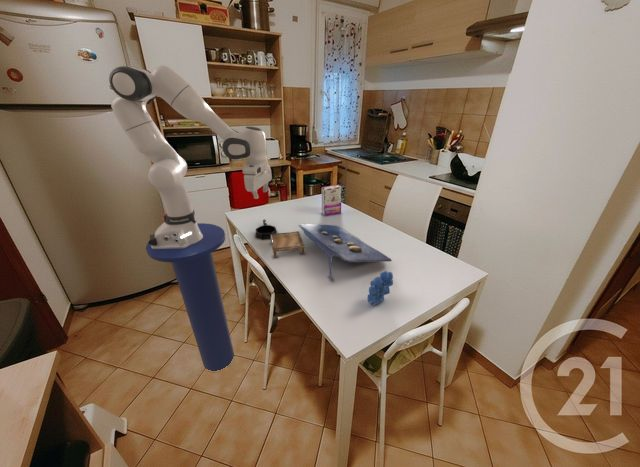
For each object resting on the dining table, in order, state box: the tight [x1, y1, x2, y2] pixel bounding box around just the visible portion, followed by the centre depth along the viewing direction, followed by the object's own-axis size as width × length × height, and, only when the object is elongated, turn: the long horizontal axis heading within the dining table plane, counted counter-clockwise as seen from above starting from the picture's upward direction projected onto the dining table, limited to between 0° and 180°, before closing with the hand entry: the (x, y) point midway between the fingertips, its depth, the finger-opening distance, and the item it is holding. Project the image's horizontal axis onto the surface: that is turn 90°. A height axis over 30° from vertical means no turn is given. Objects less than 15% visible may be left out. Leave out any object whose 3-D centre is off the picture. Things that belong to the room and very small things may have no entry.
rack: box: [270, 230, 306, 259], centre depth 121 cm, size 14×14×5 cm
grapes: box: [366, 270, 394, 306], centre depth 89 cm, size 12×7×12 cm, turn 129°
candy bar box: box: [321, 184, 343, 217], centre depth 155 cm, size 11×5×16 cm, turn 113°
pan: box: [255, 218, 278, 241], centre depth 137 cm, size 10×19×3 cm, turn 14°
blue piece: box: [298, 223, 393, 282], centre depth 120 cm, size 45×27×12 cm, turn 30°
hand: (261, 195), depth 124 cm, fingers open, 8 cm apart
